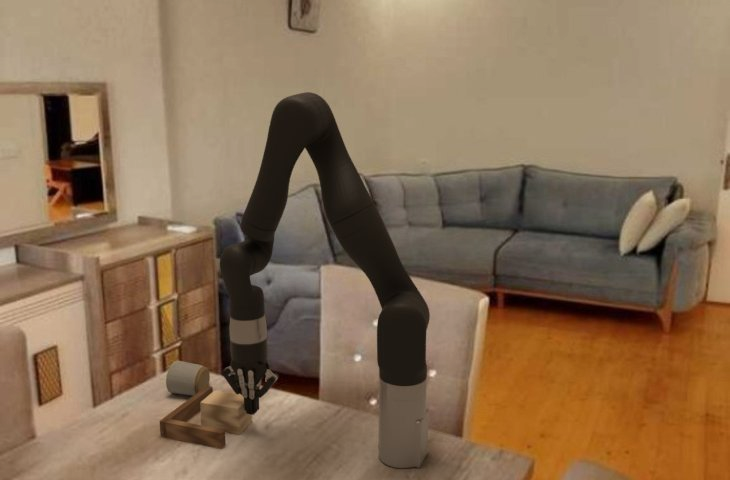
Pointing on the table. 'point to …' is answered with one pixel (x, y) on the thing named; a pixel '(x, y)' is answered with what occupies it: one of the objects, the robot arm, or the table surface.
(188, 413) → the corner fence
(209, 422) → the oak block
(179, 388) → the ceramic mug
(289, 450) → the table surface
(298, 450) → the table surface
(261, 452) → the table surface
